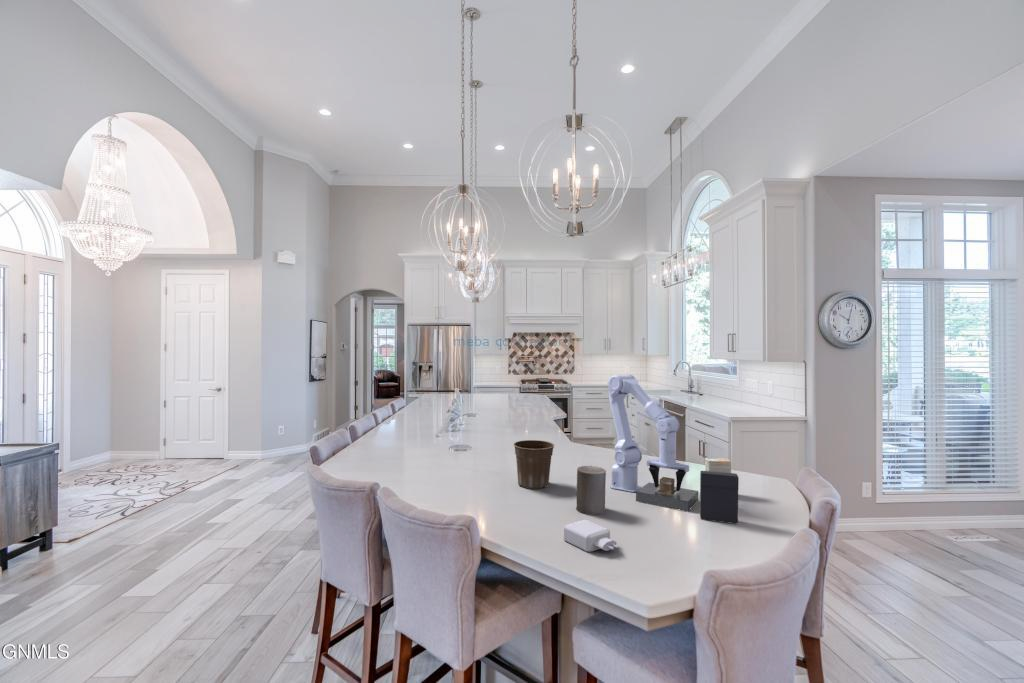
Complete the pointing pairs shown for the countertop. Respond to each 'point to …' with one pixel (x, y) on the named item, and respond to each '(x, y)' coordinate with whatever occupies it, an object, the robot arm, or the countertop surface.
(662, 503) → the grey peg hole board
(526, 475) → the plant pot
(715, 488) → the black rectangular box
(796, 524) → the countertop surface
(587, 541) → the charger
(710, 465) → the supplement box
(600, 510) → the pillar candle
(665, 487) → the key peg
